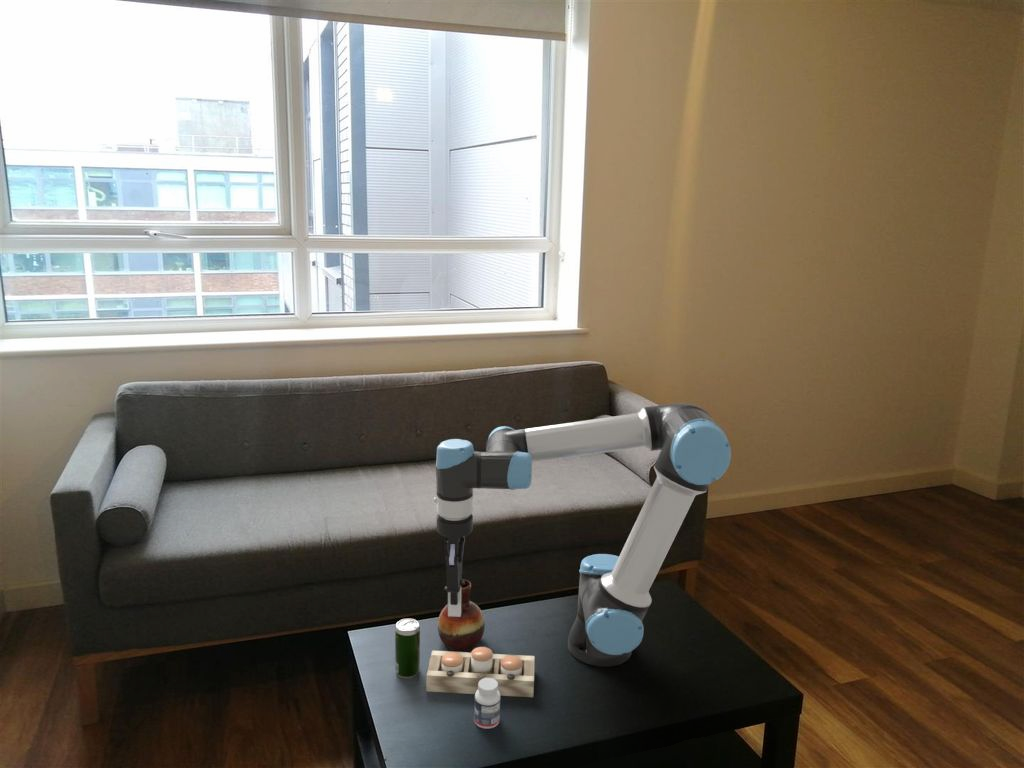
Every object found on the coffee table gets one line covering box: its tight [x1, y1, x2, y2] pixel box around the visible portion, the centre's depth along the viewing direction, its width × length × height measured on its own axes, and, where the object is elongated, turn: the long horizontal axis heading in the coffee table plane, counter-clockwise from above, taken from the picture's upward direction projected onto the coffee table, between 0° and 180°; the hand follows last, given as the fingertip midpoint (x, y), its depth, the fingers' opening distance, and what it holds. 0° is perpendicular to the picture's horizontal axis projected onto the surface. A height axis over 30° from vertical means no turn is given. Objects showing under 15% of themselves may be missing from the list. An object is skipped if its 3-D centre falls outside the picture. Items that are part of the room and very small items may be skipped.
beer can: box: [394, 618, 421, 680], centre depth 176 cm, size 5×5×12 cm
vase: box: [437, 578, 486, 652], centre depth 188 cm, size 11×11×15 cm
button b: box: [471, 646, 494, 674], centre depth 174 cm, size 5×5×4 cm
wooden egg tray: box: [425, 650, 535, 698], centre depth 175 cm, size 23×9×4 cm, turn 88°
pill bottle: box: [473, 678, 501, 730], centre depth 162 cm, size 5×5×9 cm
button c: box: [441, 653, 463, 672], centre depth 175 cm, size 5×5×4 cm
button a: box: [501, 656, 522, 676], centre depth 174 cm, size 5×5×4 cm
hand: (454, 614), depth 171 cm, fingers closed
